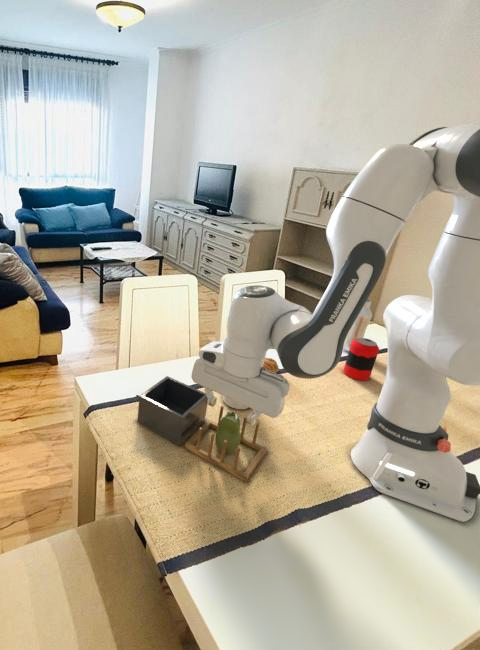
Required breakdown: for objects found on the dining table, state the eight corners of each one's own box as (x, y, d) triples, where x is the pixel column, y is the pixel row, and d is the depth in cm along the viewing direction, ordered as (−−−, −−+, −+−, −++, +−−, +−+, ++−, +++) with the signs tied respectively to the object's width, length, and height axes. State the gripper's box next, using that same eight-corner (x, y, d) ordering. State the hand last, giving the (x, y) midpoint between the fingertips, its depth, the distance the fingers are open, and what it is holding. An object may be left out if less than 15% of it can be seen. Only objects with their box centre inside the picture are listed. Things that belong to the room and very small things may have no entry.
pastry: (264, 381, 119) (267, 371, 117) (245, 372, 123) (247, 362, 122) (279, 372, 125) (282, 361, 123) (260, 363, 129) (262, 353, 128)
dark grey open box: (204, 420, 100) (208, 394, 97) (179, 445, 91) (183, 418, 88) (164, 400, 107) (166, 375, 104) (137, 422, 98) (139, 395, 95)
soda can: (371, 375, 126) (382, 342, 121) (366, 383, 121) (377, 350, 116) (346, 366, 131) (356, 334, 126) (340, 374, 125) (350, 341, 121)
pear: (240, 448, 91) (247, 413, 87) (233, 461, 87) (240, 425, 83) (218, 438, 94) (224, 404, 90) (209, 451, 90) (215, 415, 86)
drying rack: (266, 451, 90) (271, 427, 88) (245, 482, 81) (251, 456, 79) (208, 423, 99) (212, 400, 96) (184, 447, 90) (188, 423, 88)
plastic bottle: (343, 344, 146) (358, 295, 139) (363, 351, 141) (379, 301, 134) (336, 349, 142) (351, 298, 135) (356, 356, 137) (372, 304, 130)
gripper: (296, 373, 78) (281, 428, 83) (206, 339, 89) (197, 389, 95) (286, 385, 73) (271, 443, 78) (192, 348, 85) (184, 400, 90)
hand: (230, 413), depth 86 cm, fingers open, 8 cm apart
